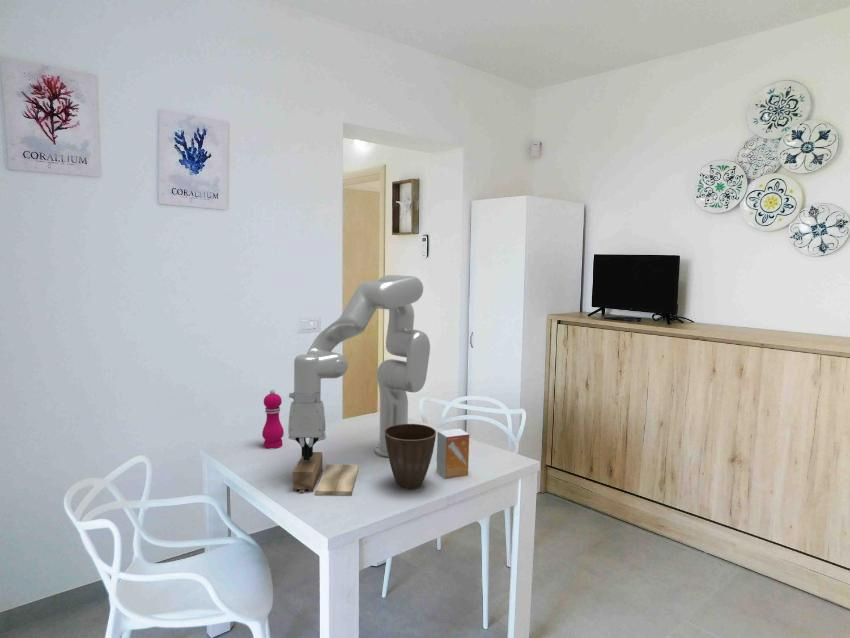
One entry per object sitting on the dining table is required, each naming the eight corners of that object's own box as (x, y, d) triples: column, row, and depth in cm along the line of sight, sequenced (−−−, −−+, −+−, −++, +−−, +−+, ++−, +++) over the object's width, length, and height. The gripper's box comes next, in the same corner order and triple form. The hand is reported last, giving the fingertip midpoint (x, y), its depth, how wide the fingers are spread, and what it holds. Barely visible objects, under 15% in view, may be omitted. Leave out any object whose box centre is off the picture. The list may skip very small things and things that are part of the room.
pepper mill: (257, 447, 190) (257, 390, 188) (271, 441, 196) (270, 386, 194) (275, 450, 187) (274, 392, 185) (288, 444, 194) (287, 388, 192)
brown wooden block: (322, 470, 170) (322, 452, 170) (312, 492, 154) (312, 472, 154) (304, 470, 170) (304, 451, 170) (292, 492, 154) (292, 471, 154)
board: (359, 468, 172) (359, 464, 172) (351, 495, 152) (351, 491, 152) (312, 467, 172) (312, 464, 172) (298, 494, 152) (298, 490, 152)
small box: (445, 479, 165) (446, 436, 164) (436, 471, 171) (436, 430, 170) (468, 475, 169) (469, 433, 167) (459, 467, 174) (460, 427, 173)
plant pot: (445, 487, 159) (446, 433, 157) (402, 499, 150) (402, 443, 149) (416, 471, 171) (417, 421, 169) (374, 481, 162) (375, 428, 161)
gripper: (278, 400, 156) (278, 463, 157) (331, 401, 156) (330, 463, 158) (284, 393, 163) (284, 454, 165) (335, 394, 163) (334, 454, 165)
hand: (307, 458), depth 161 cm, fingers closed
